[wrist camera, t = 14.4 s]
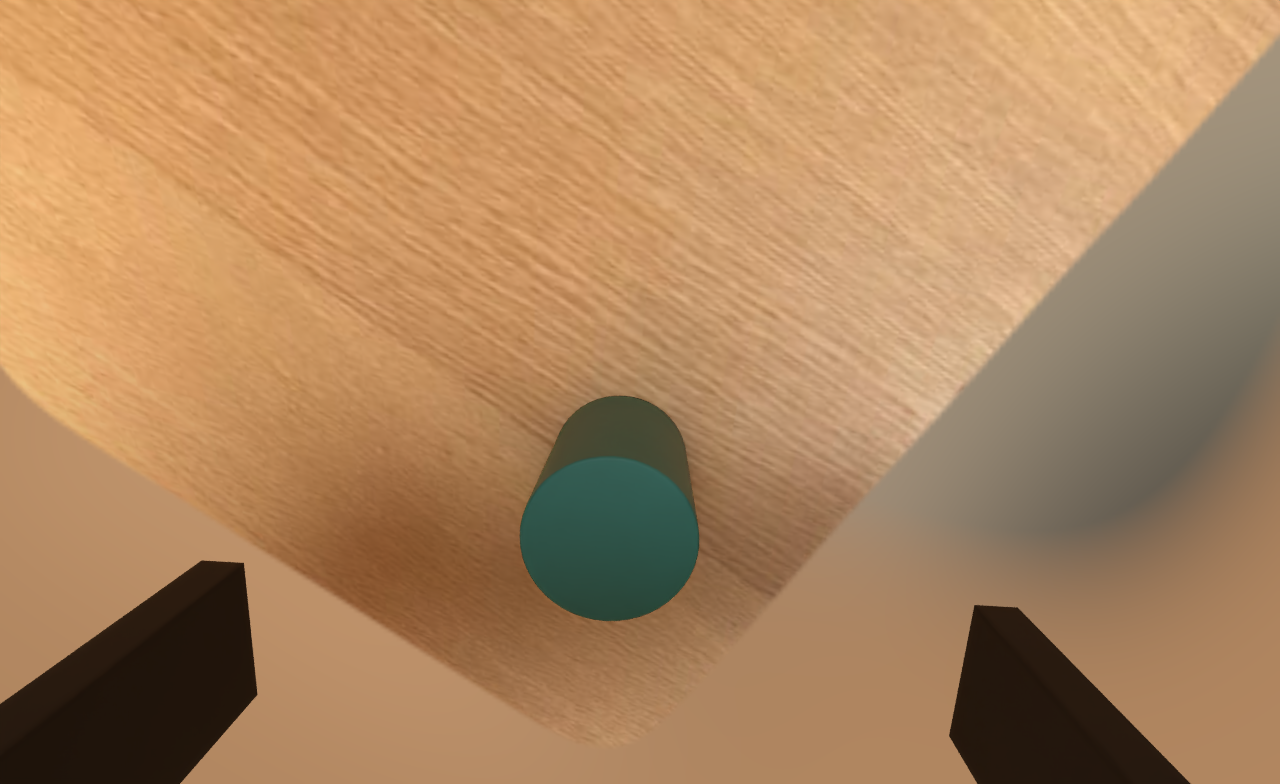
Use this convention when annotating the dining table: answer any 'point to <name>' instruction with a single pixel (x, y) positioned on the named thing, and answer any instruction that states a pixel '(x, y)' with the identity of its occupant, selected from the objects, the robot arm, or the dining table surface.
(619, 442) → the teal cylinder
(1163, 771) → the robot arm
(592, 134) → the dining table surface
